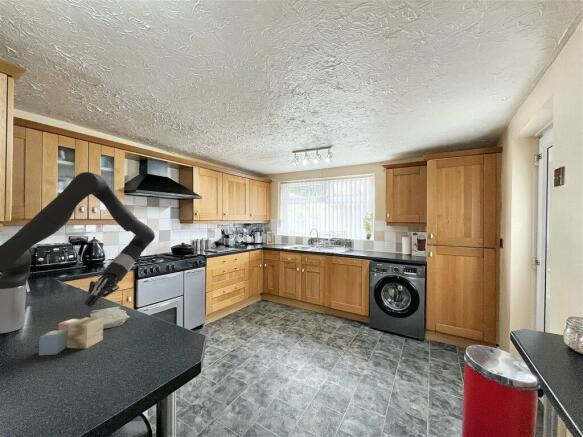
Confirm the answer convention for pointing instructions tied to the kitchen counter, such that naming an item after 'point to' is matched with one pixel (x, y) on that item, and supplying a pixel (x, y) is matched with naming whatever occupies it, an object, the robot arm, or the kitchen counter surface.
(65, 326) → the terracotta label block
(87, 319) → the plain block
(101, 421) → the kitchen counter surface
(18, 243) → the robot arm
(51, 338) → the blue label block
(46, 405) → the kitchen counter surface
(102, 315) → the stone tool
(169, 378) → the kitchen counter surface
